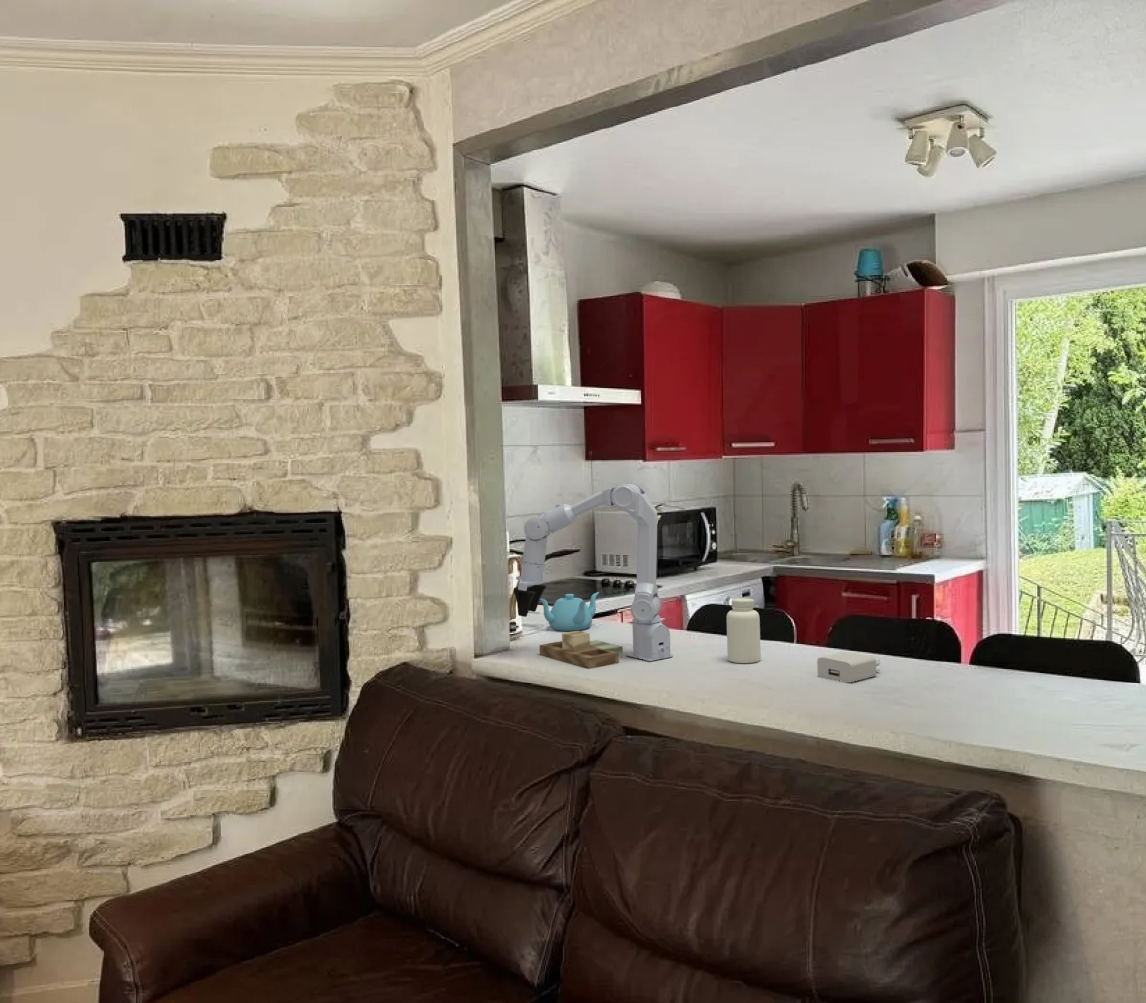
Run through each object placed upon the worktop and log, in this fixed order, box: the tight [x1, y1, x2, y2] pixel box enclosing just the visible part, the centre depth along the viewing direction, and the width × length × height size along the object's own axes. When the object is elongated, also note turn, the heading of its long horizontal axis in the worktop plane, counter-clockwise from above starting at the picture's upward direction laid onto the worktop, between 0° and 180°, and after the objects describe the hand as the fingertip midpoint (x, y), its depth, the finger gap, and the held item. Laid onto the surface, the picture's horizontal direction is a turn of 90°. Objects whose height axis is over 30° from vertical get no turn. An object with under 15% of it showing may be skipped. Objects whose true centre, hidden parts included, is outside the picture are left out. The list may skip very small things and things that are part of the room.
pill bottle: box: [726, 597, 762, 664], centre depth 231 cm, size 8×8×15 cm
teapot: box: [539, 591, 600, 632], centre depth 282 cm, size 15×15×10 cm
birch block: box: [561, 630, 591, 652], centre depth 239 cm, size 5×5×4 cm
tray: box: [539, 639, 623, 669], centre depth 241 cm, size 22×14×2 cm, turn 35°
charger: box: [816, 651, 881, 684], centre depth 214 cm, size 5×9×15 cm
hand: (526, 613), depth 247 cm, fingers open, 7 cm apart
